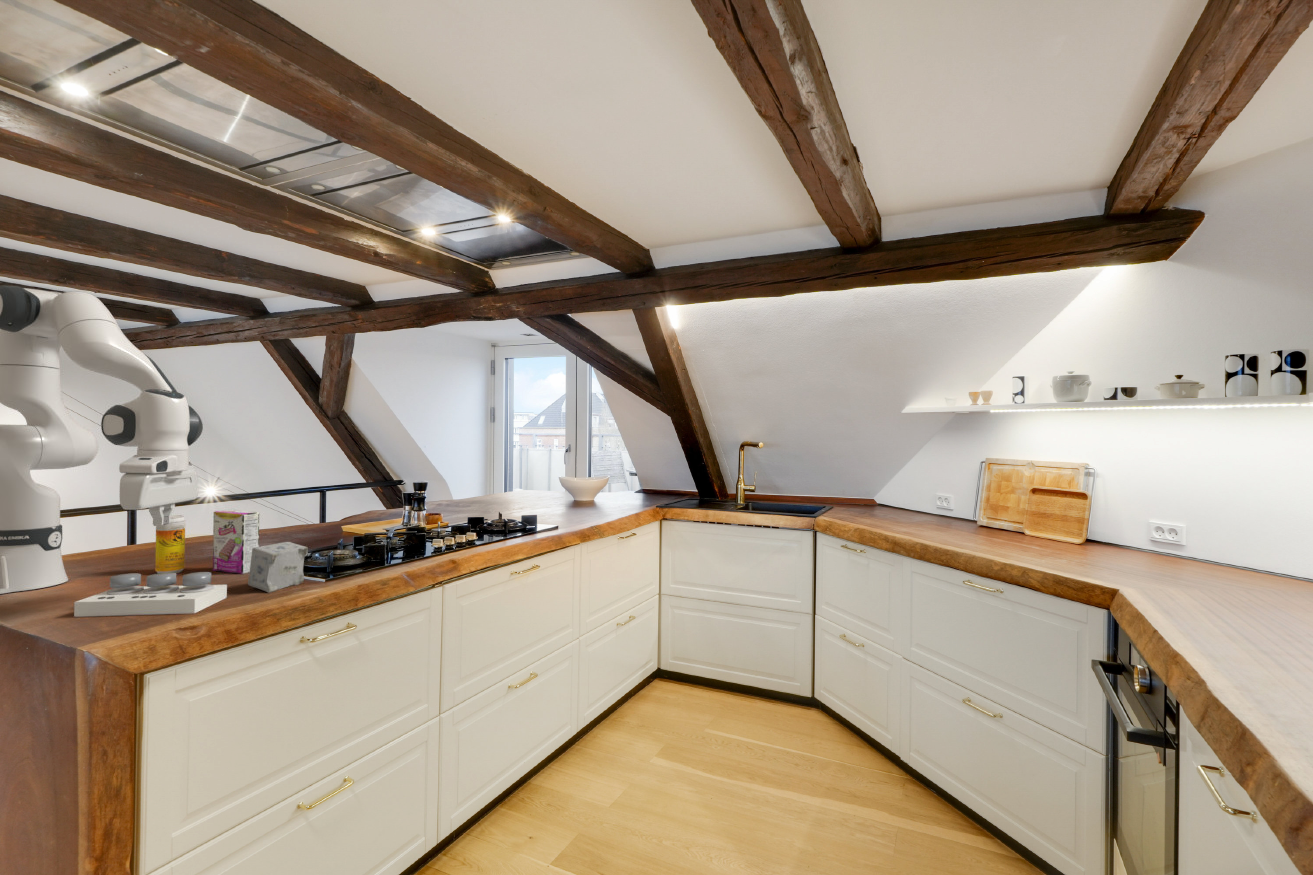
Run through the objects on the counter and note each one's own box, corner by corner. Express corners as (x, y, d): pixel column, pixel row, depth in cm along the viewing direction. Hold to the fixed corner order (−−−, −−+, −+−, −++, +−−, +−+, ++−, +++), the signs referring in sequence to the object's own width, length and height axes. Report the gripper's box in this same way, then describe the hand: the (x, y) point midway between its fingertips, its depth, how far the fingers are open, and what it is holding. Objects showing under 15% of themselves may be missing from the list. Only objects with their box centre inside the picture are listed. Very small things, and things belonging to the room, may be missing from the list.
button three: (140, 587, 126) (140, 578, 126) (156, 581, 131) (156, 572, 131) (166, 586, 127) (166, 577, 127) (181, 581, 132) (181, 572, 132)
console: (74, 616, 119) (74, 600, 119) (118, 600, 131) (118, 585, 131) (194, 613, 123) (194, 597, 123) (226, 597, 135) (226, 582, 135)
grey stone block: (271, 593, 139) (272, 550, 139) (246, 590, 141) (247, 547, 141) (308, 584, 148) (309, 543, 148) (284, 580, 151) (285, 540, 151)
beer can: (167, 575, 154) (168, 518, 154) (149, 573, 155) (150, 517, 155) (190, 570, 160) (191, 515, 160) (172, 568, 161) (173, 514, 161)
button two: (103, 588, 125) (103, 579, 125) (121, 582, 130) (121, 573, 130) (130, 587, 126) (130, 578, 126) (146, 582, 131) (146, 573, 131)
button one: (177, 586, 127) (177, 577, 127) (191, 581, 132) (191, 572, 132) (202, 586, 128) (202, 576, 128) (215, 580, 133) (216, 571, 133)
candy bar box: (211, 571, 159) (212, 511, 159) (229, 567, 164) (230, 509, 164) (242, 574, 156) (243, 513, 156) (259, 570, 161) (260, 511, 161)
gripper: (177, 460, 139) (176, 518, 139) (112, 465, 119) (111, 532, 119) (207, 460, 140) (205, 518, 140) (147, 465, 120) (145, 532, 120)
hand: (161, 525), depth 130 cm, fingers closed
